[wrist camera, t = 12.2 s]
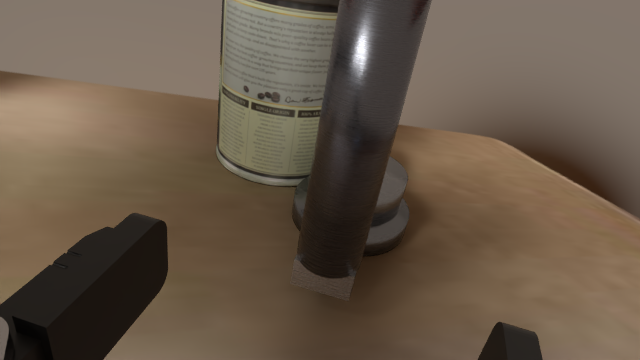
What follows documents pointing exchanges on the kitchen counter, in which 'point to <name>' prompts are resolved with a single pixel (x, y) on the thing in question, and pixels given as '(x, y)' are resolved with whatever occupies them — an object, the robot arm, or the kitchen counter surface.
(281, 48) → the coffee can
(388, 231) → the base
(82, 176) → the kitchen counter surface
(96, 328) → the robot arm
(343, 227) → the crank
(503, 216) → the kitchen counter surface
